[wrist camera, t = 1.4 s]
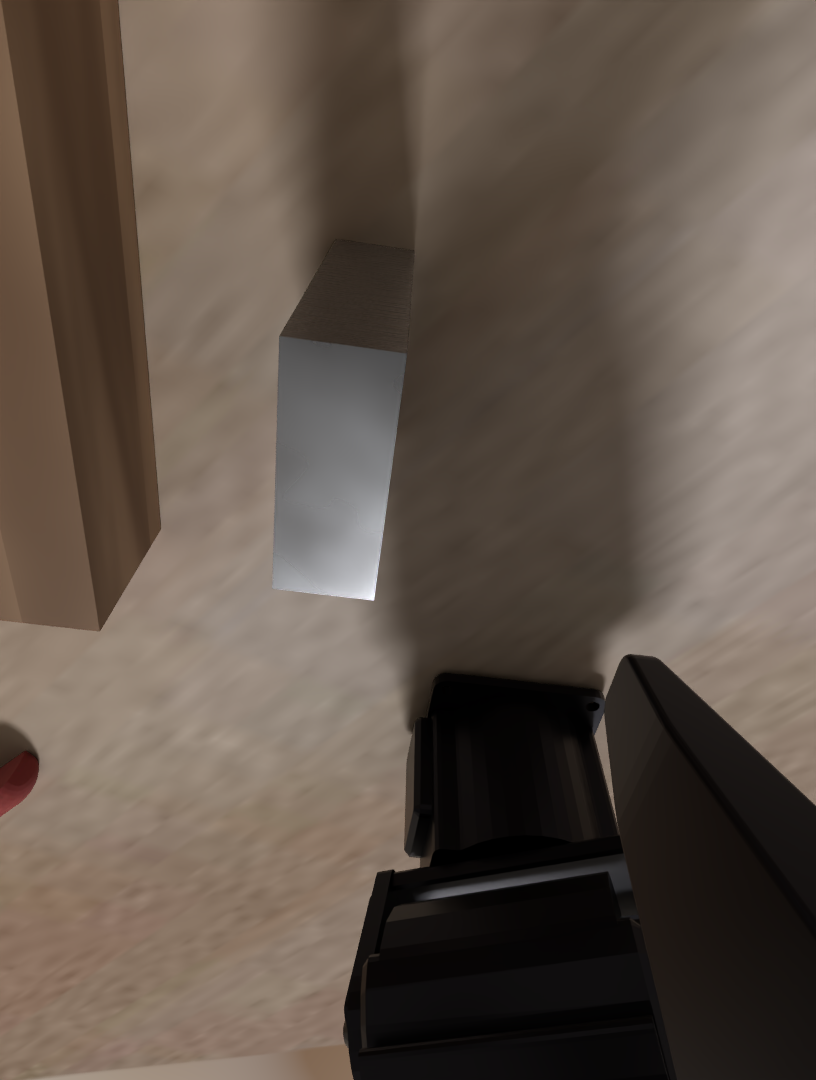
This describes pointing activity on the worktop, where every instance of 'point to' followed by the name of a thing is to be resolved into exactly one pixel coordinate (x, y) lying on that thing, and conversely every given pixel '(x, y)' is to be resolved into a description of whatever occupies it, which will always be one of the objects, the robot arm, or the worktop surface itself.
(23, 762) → the pliers
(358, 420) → the upright grey slab
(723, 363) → the worktop surface
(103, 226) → the rectangular wooden block
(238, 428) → the worktop surface
